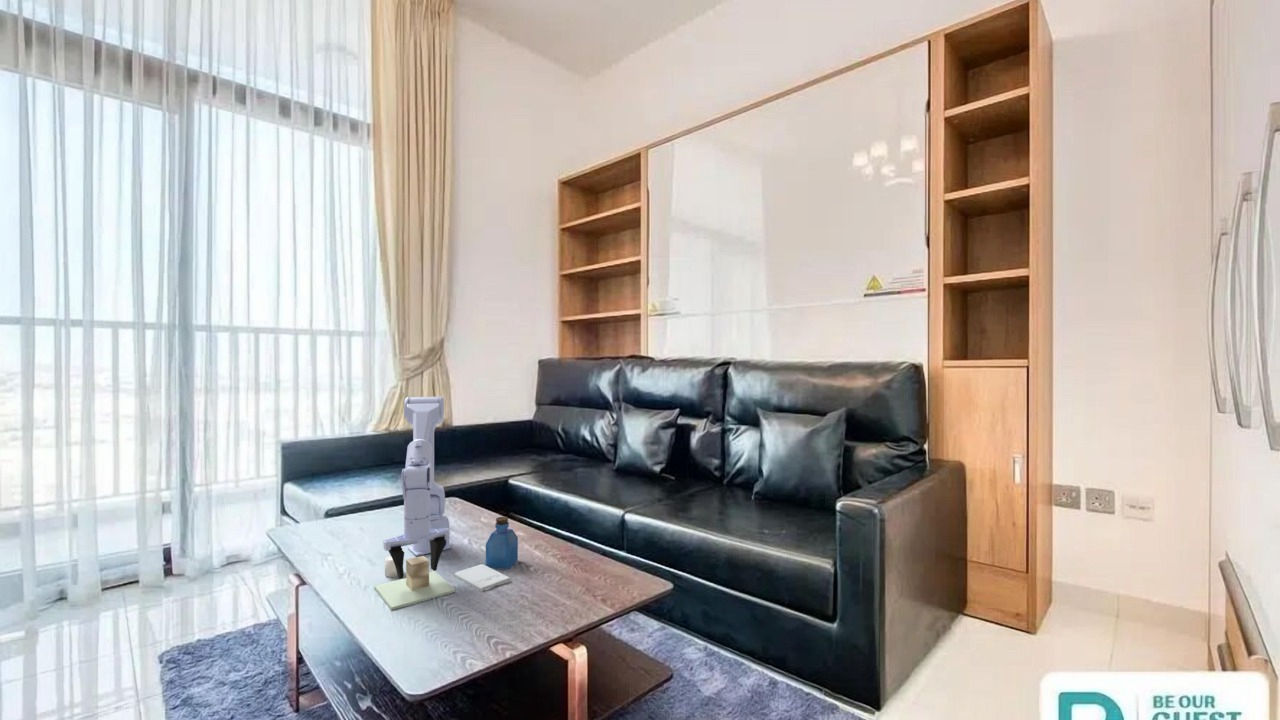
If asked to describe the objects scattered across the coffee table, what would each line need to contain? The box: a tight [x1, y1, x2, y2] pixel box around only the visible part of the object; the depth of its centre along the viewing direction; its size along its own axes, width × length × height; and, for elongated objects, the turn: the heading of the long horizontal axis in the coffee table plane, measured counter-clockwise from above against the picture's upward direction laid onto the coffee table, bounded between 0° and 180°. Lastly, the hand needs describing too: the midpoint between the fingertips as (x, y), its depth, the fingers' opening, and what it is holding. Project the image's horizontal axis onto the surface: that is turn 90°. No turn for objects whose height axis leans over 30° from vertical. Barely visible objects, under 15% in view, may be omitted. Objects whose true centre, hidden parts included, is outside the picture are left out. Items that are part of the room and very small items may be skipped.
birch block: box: [405, 555, 430, 591], centre depth 129 cm, size 4×4×6 cm
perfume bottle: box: [485, 516, 519, 570], centre depth 144 cm, size 6×6×12 cm
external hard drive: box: [453, 563, 512, 592], centre depth 135 cm, size 2×8×12 cm
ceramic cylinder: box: [384, 555, 398, 578], centre depth 137 cm, size 4×4×4 cm
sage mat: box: [373, 570, 456, 611], centre depth 128 cm, size 14×14×1 cm
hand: (417, 573), depth 129 cm, fingers open, 7 cm apart
